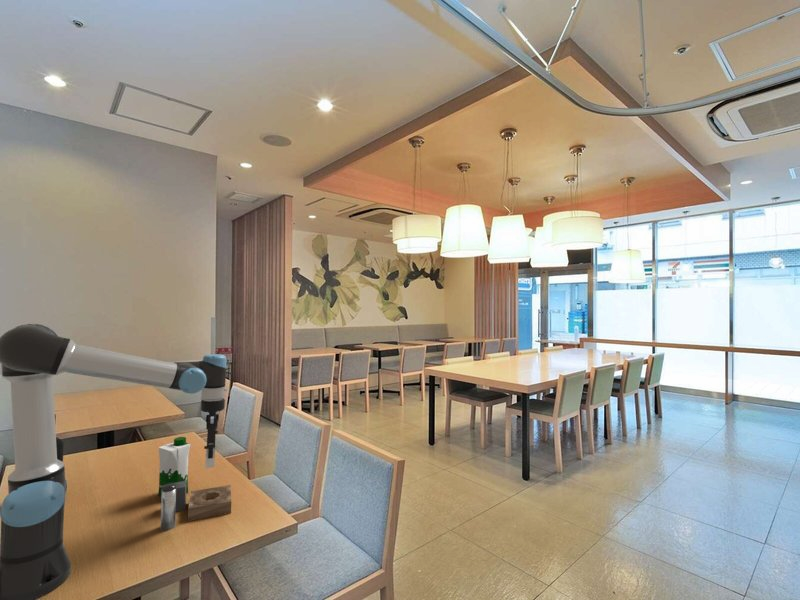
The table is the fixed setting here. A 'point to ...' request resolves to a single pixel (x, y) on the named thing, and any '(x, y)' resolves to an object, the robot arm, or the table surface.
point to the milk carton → (173, 463)
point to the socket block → (209, 502)
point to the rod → (168, 506)
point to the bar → (180, 495)
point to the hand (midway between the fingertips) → (210, 460)
